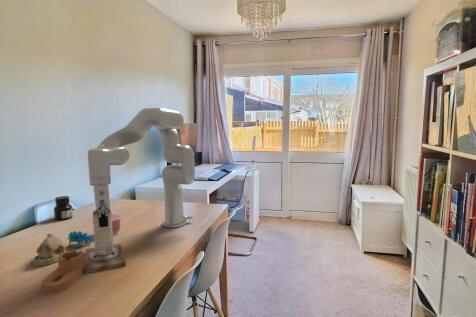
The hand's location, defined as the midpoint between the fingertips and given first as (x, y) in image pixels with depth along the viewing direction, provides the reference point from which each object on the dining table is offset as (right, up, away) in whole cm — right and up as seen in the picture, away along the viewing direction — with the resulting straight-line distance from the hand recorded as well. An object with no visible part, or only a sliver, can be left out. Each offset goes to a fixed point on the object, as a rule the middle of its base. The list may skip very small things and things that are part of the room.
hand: (103, 222), depth 124 cm
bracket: (-7, -17, -15) cm, 24 cm away
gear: (-17, -13, +16) cm, 26 cm away
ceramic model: (-22, -15, +3) cm, 27 cm away
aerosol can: (0, -12, +1) cm, 12 cm away
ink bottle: (-45, -9, +54) cm, 71 cm away
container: (-10, -12, +30) cm, 34 cm away
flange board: (0, -15, +1) cm, 15 cm away
